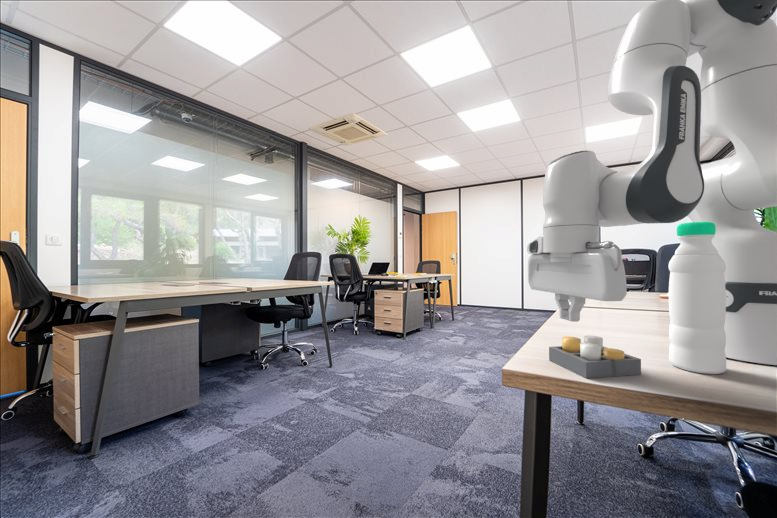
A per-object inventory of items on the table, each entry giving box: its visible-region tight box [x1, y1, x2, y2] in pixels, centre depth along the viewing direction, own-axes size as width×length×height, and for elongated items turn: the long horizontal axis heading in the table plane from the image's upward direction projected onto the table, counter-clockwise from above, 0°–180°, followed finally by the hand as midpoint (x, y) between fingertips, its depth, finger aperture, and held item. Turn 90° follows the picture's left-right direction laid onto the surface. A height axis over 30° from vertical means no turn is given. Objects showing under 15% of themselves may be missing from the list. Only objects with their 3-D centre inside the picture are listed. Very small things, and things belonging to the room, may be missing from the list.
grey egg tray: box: [548, 345, 642, 379], centre depth 55 cm, size 10×9×2 cm
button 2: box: [580, 342, 601, 361], centre depth 53 cm, size 3×3×3 cm
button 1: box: [561, 336, 582, 353], centre depth 57 cm, size 3×3×3 cm
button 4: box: [603, 347, 625, 360], centre depth 53 cm, size 3×3×3 cm
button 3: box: [583, 335, 604, 351], centre depth 58 cm, size 3×3×3 cm
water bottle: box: [668, 221, 727, 375], centre depth 54 cm, size 7×7×25 cm
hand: (569, 320), depth 57 cm, fingers closed
